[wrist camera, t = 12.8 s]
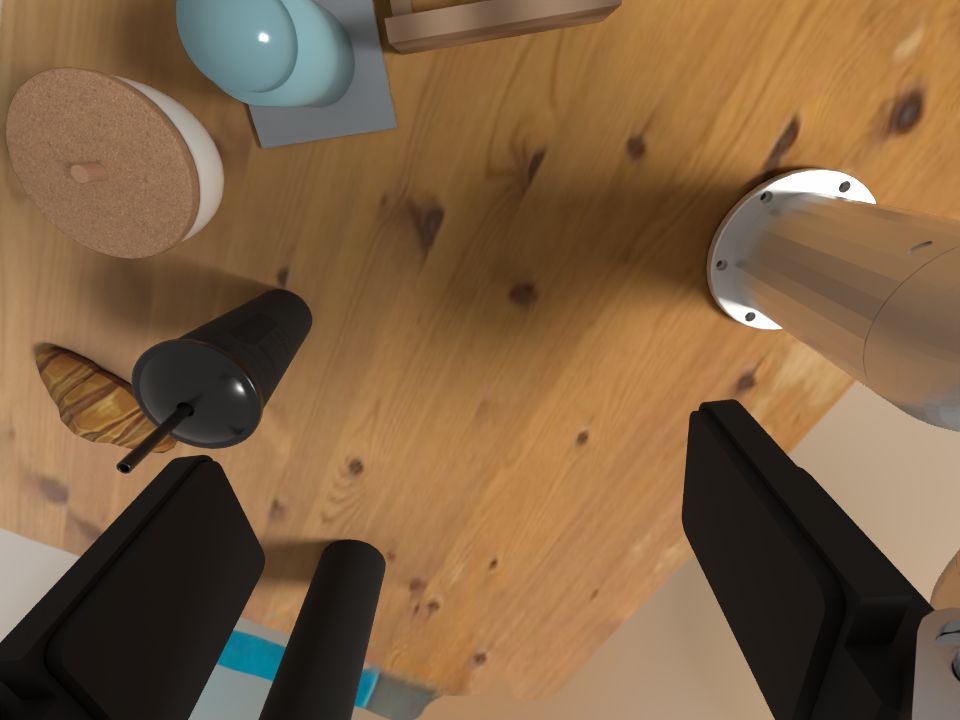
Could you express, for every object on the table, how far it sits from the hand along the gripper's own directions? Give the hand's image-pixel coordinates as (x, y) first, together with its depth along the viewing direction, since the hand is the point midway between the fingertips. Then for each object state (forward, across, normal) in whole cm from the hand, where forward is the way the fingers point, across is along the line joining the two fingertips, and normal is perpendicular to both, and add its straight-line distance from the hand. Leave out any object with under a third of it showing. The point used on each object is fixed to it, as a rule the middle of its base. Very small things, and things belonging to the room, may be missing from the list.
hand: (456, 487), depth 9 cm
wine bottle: (+31, +20, +37) cm, 52 cm away
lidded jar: (+31, +22, -7) cm, 38 cm away
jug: (+30, +10, -14) cm, 34 cm away
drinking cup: (+31, +18, +6) cm, 36 cm away
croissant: (+31, +36, +12) cm, 49 cm away
